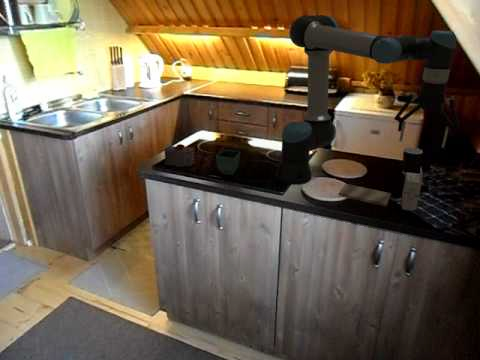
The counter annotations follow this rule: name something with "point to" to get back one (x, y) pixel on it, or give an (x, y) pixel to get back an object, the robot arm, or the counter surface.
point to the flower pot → (228, 161)
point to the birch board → (365, 194)
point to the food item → (179, 156)
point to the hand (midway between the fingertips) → (421, 143)
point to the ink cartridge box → (411, 190)
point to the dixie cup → (410, 159)
